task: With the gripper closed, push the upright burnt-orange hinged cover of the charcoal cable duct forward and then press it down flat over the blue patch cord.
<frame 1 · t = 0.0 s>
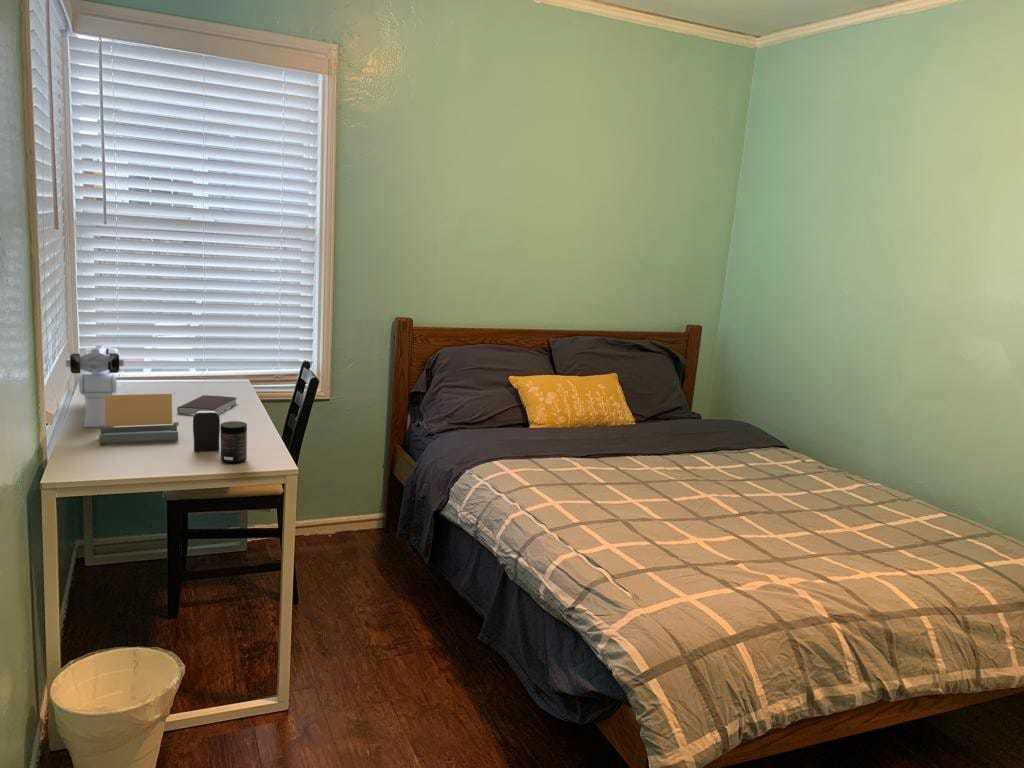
hand: (93, 365, 213), 22 cm above the table, tool horizontal, fingers open, 7 cm apart
cover: (139, 409, 224), point 8 cm above the table, hinge at 100.0°
book: (208, 410, 261), on the table
battery charger: (206, 450, 216), on the table
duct: (139, 439, 221), on the table
supplement container: (233, 462, 208), on the table
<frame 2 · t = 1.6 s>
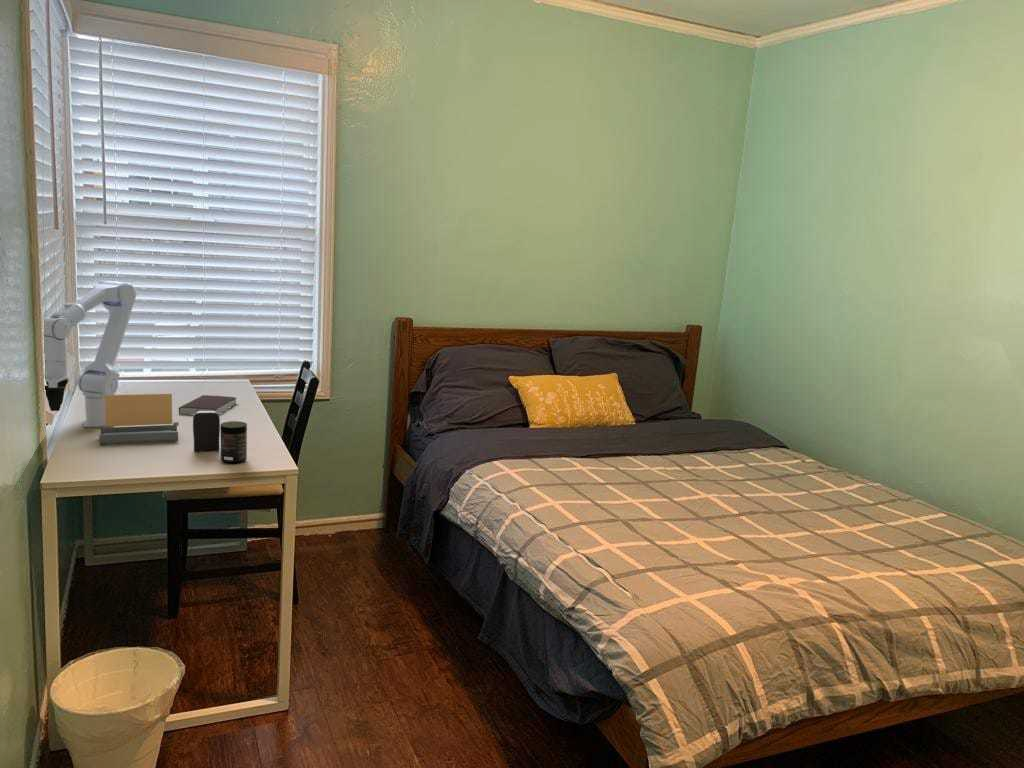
hand: (56, 407, 217), 8 cm above the table, tool pointing down, fingers open, 7 cm apart
nothing on the table moved.
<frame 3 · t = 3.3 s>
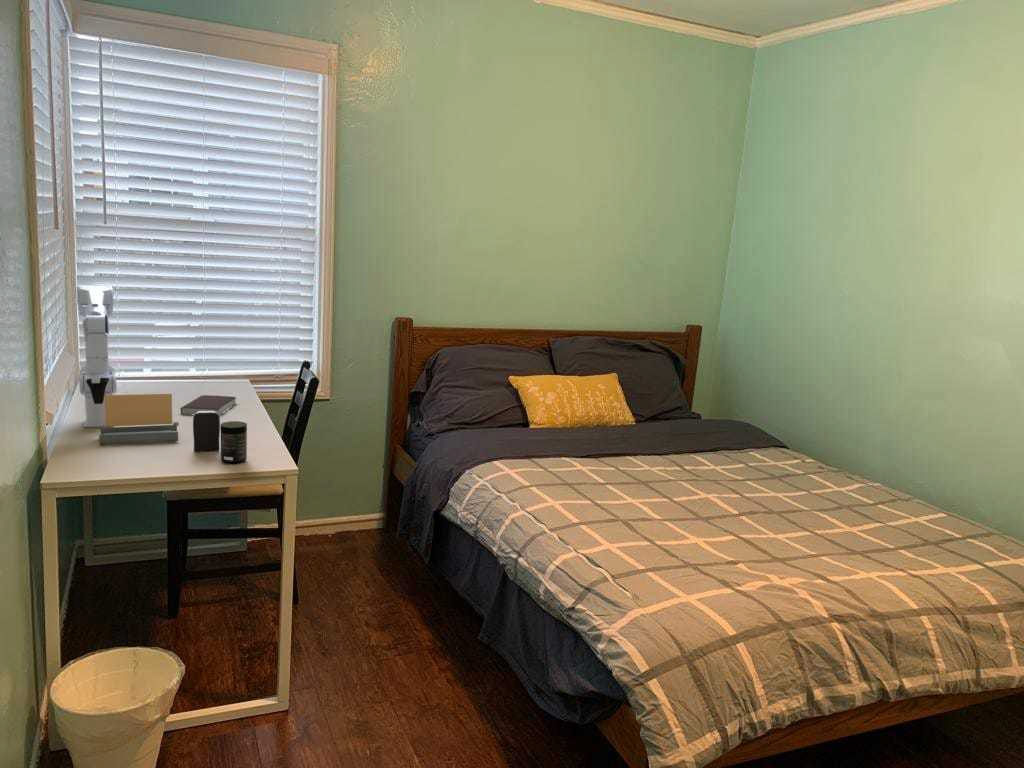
hand: (98, 403, 222), 9 cm above the table, tool pointing down, fingers closed
nothing on the table moved.
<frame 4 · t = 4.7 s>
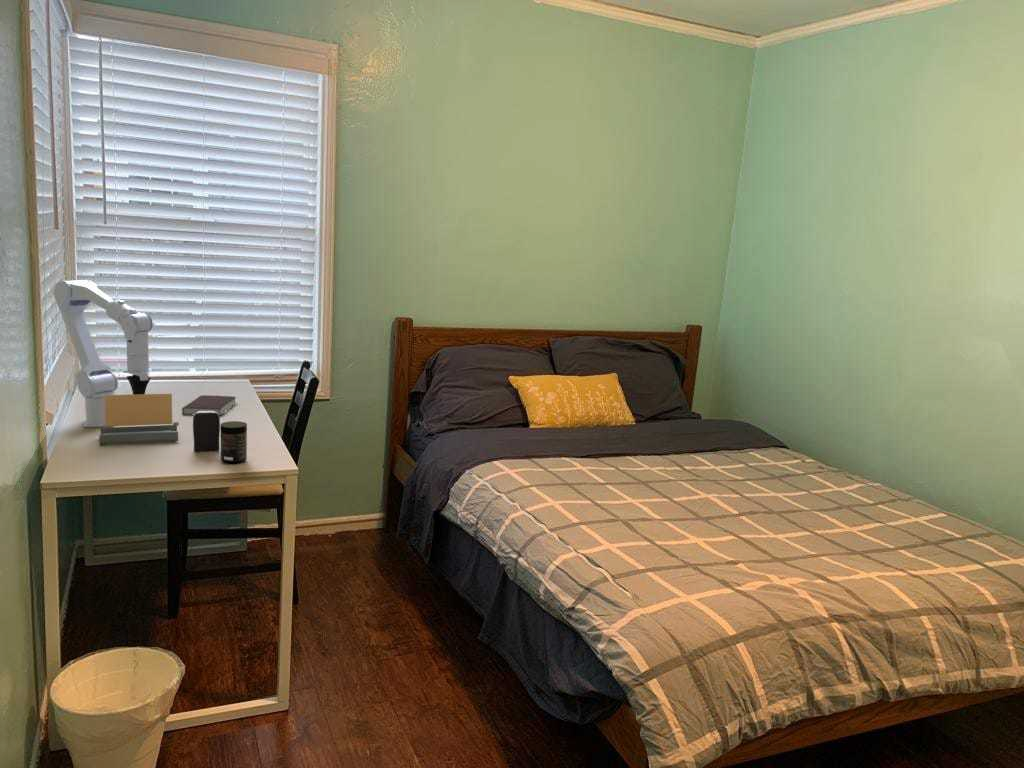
hand: (138, 400, 226), 10 cm above the table, tool pointing down, fingers closed
cover: (139, 409, 224), point 8 cm above the table, hinge at 100.0°, touching gripper
everything else where it was.
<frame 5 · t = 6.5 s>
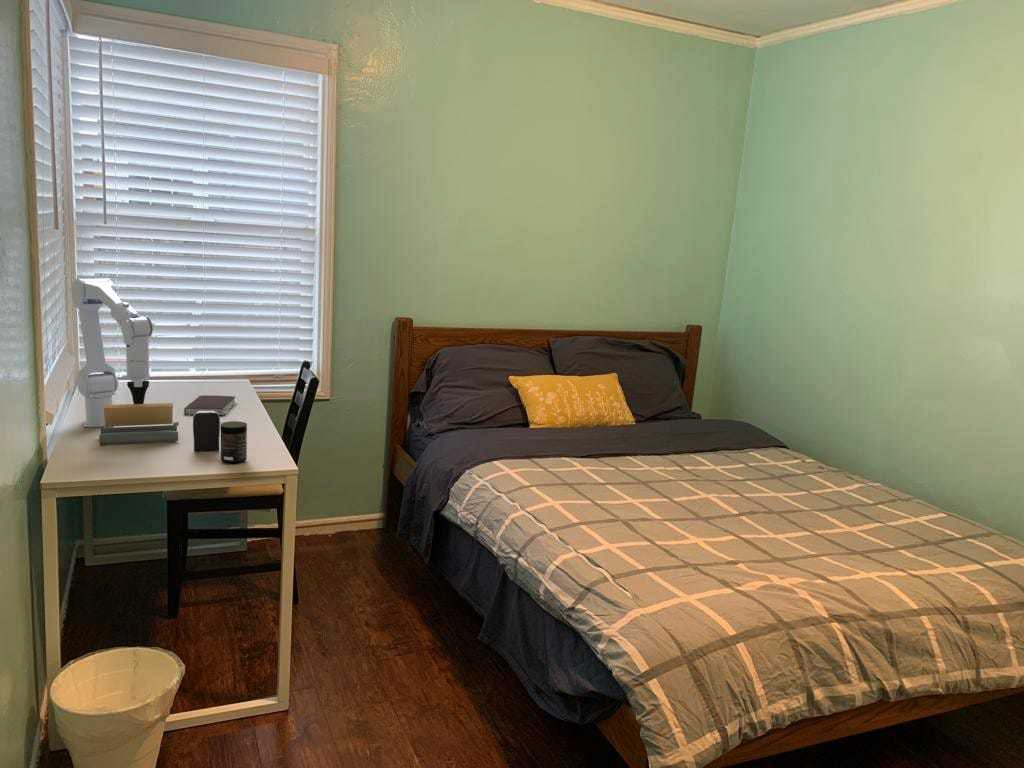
hand: (138, 406, 219), 10 cm above the table, tool pointing down, fingers closed, pressing on cover
cover: (139, 414, 221), point 7 cm above the table, hinge at 50.2°, touching gripper
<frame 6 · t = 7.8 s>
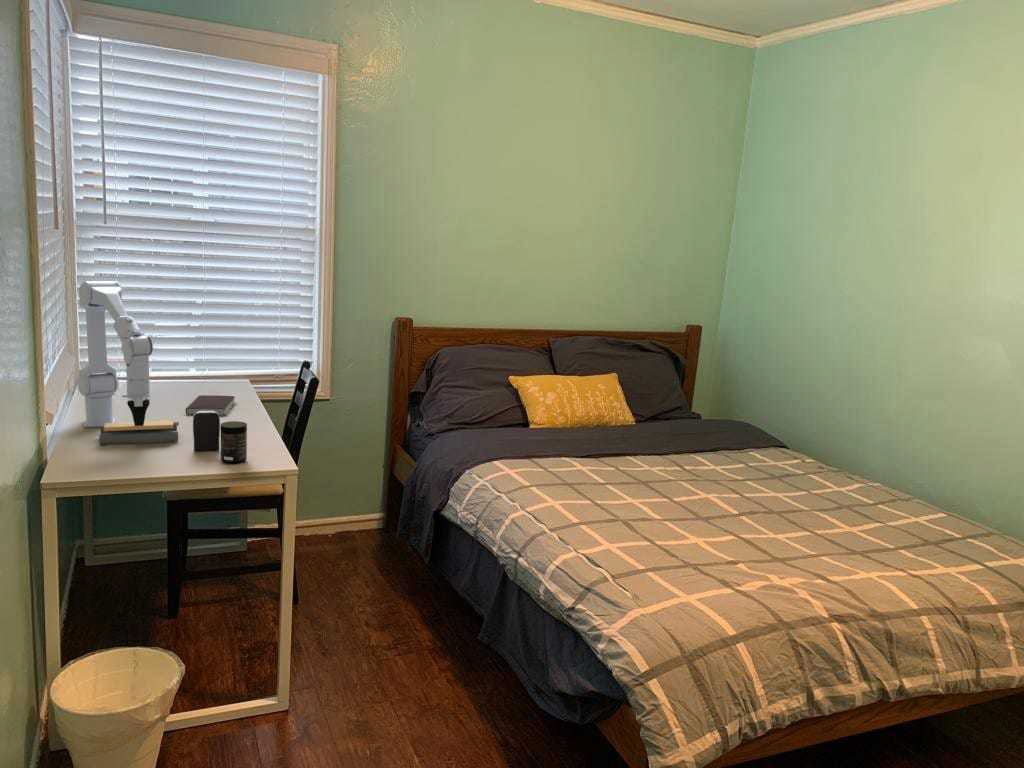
hand: (139, 425, 217), 5 cm above the table, tool pointing down, fingers closed, pressing on cover
cover: (139, 425, 220), point 4 cm above the table, hinge at 6.8°, touching gripper
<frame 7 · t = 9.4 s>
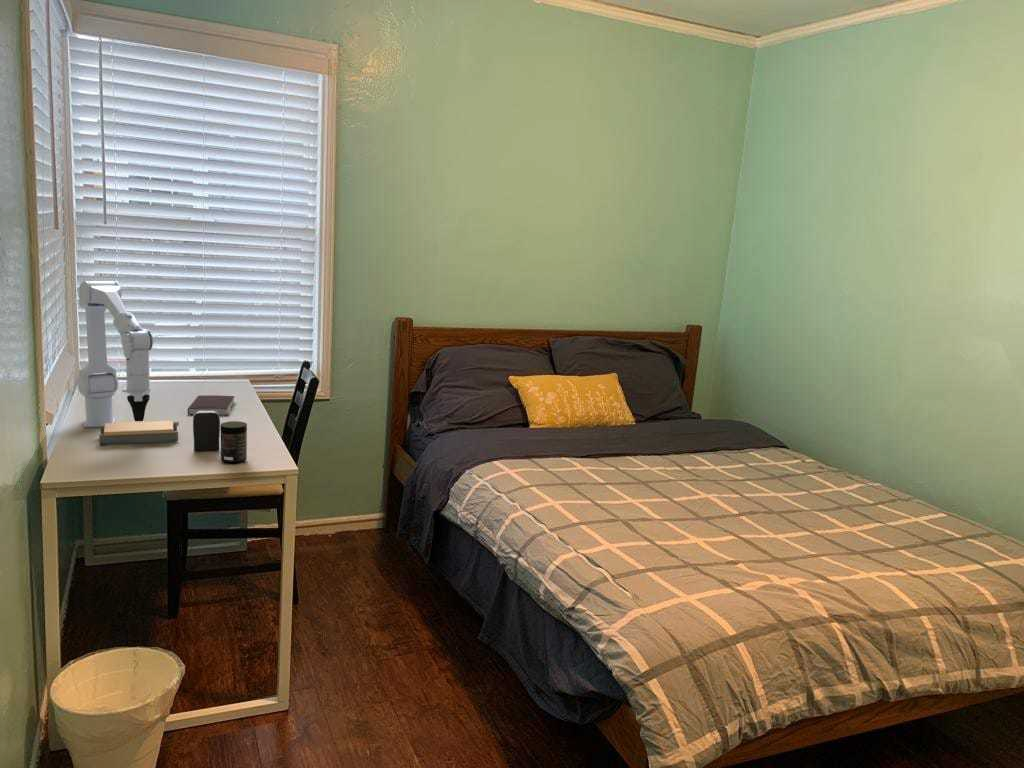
hand: (139, 420, 216), 7 cm above the table, tool pointing down, fingers closed
cover: (139, 427, 220), point 4 cm above the table, hinge at -1.2°
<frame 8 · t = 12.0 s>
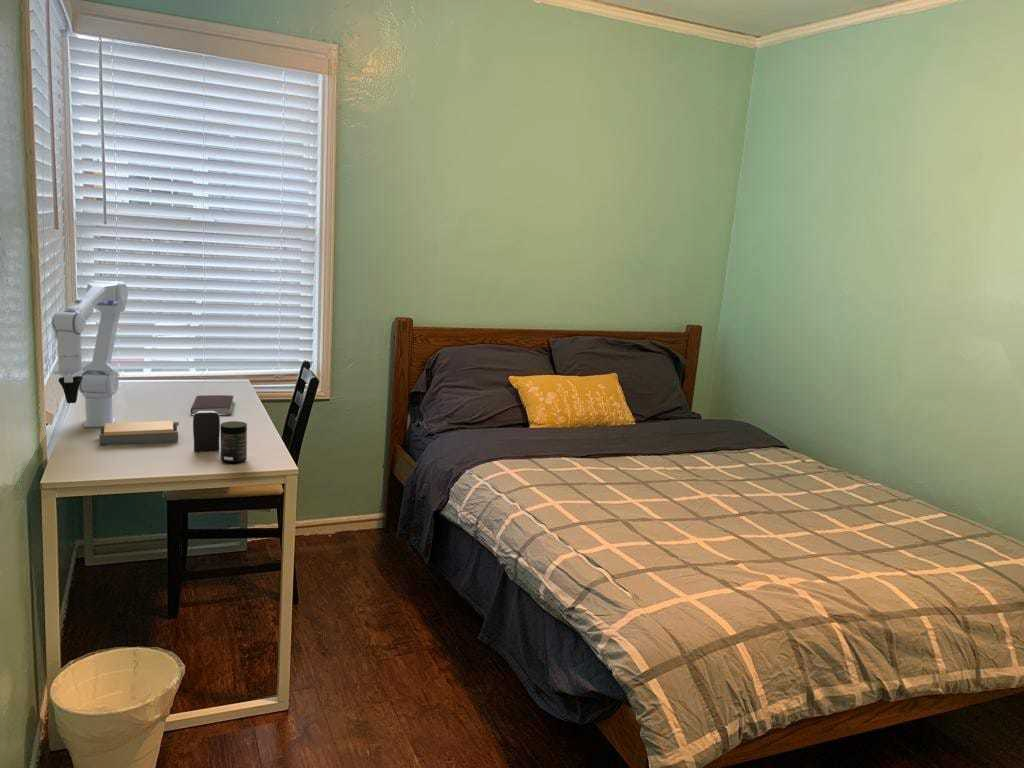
hand: (71, 402, 216), 10 cm above the table, tool pointing down, fingers closed
at the end: cover at -1° (first picture: +100°); battery charger moved 0.2 cm from its start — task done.
